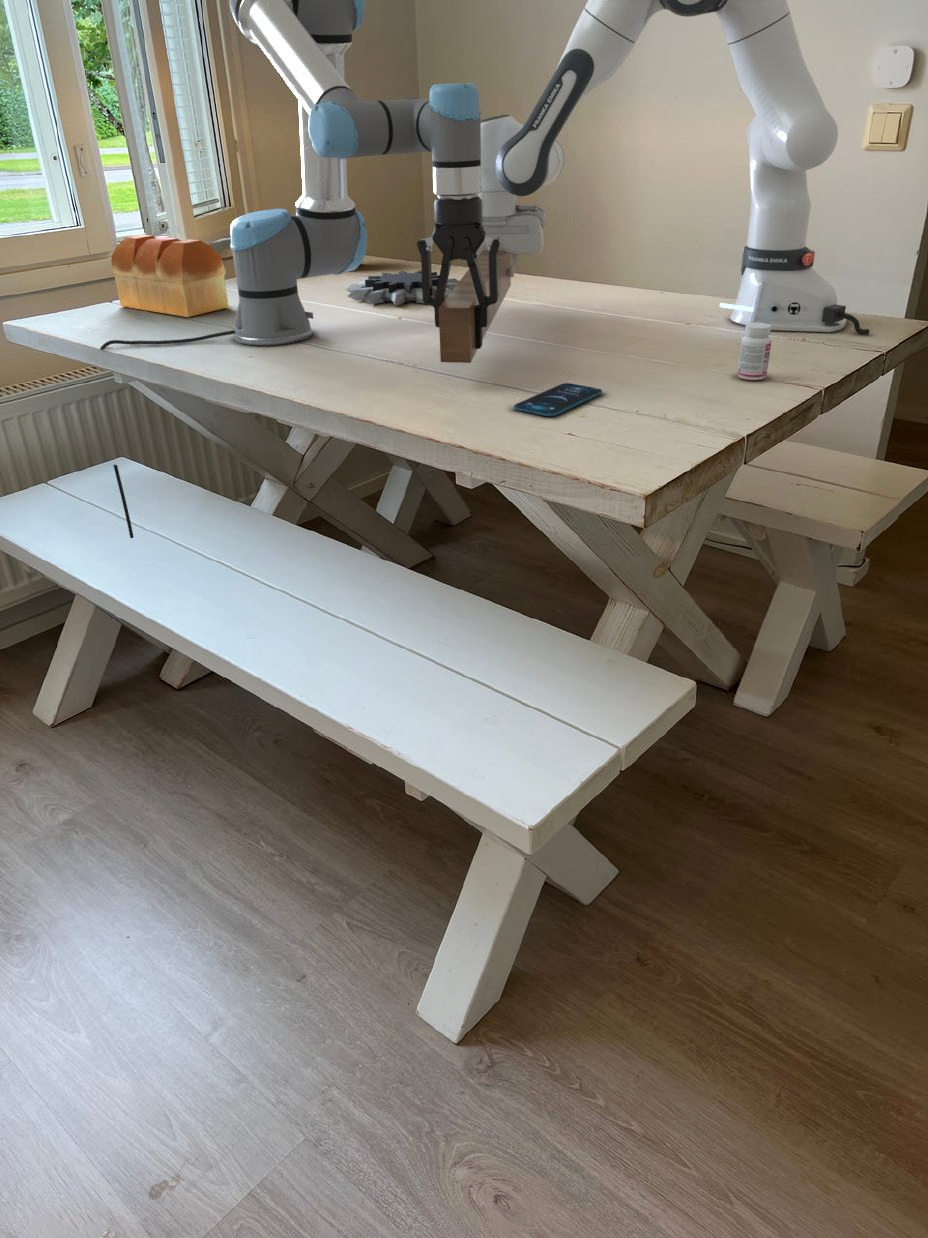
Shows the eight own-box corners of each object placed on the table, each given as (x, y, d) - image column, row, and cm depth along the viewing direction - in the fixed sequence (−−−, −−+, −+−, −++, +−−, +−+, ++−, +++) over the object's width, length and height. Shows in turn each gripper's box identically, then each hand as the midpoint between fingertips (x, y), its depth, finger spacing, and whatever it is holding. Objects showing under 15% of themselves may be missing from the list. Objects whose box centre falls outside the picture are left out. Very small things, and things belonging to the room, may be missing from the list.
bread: (118, 306, 222) (104, 238, 214) (161, 296, 230) (149, 231, 223) (188, 317, 209) (176, 246, 201) (231, 306, 217) (221, 238, 210)
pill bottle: (768, 380, 155) (775, 328, 150) (738, 380, 155) (744, 328, 151) (765, 372, 159) (772, 321, 155) (736, 372, 160) (742, 321, 155)
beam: (470, 362, 152) (469, 307, 148) (440, 362, 153) (438, 307, 149) (510, 285, 207) (510, 243, 202) (488, 285, 207) (488, 243, 203)
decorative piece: (415, 294, 204) (314, 282, 220) (416, 313, 206) (316, 299, 222) (493, 272, 225) (396, 262, 241) (494, 289, 227) (397, 278, 243)
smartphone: (510, 405, 145) (564, 381, 155) (510, 409, 145) (564, 385, 155) (552, 414, 141) (604, 389, 151) (552, 418, 141) (604, 393, 151)
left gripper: (517, 192, 149) (517, 341, 161) (406, 194, 152) (414, 341, 163) (512, 197, 143) (513, 352, 154) (396, 199, 145) (405, 351, 157)
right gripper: (546, 202, 193) (545, 273, 200) (448, 204, 196) (450, 273, 203) (544, 206, 188) (543, 279, 195) (443, 207, 191) (445, 279, 198)
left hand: (462, 346), depth 159 cm, fingers closed on beam, 5 cm apart
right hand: (495, 276), depth 199 cm, fingers closed on beam, 5 cm apart
